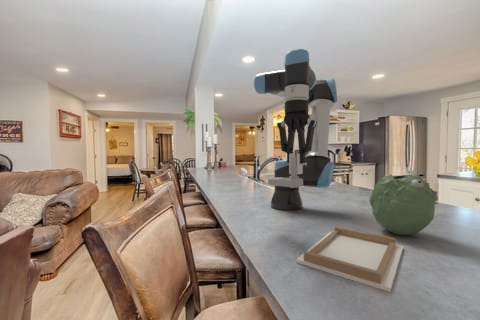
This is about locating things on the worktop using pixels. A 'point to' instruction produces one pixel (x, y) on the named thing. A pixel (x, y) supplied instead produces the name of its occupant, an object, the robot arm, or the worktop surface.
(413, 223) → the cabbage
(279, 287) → the worktop surface
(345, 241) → the wooden framed canvas
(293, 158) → the electronic device
